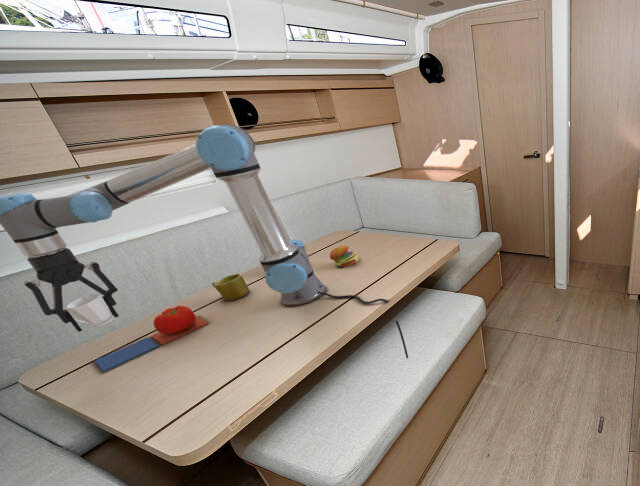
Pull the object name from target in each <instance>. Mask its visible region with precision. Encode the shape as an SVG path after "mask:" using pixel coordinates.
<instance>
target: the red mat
mask: <svg viewBox="0 0 640 486" xmlns="http://www.w3.org/2000/svg"><path fill="white" fill-rule="evenodd" d="M195 316H196V320H195V322H194V324H193V325H192V326H191V327H189V328H188V329H184V330H183V331H181V332H179V333H173V334H168V333H167V334H163V333H160V332H156V333H154V334H152V335H151V338H153V339H154V340H155V341H157V342H158V343H159V344H161V345H162V346H163V345H165V344H168V343H170V342H172V341H174V340H177V339H179V338H181V337H183V336H185V335H188V334H189V333H191V332H195V331H196V330H199V329H200V328H202V327H205V326H207V325H209V322H208V321H206V320H204V319H202V318H200V317H198V316H197V315H195Z"/></svg>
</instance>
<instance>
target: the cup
mask: <svg viewBox="0 0 640 486" xmlns="http://www.w3.org/2000/svg"><path fill="white" fill-rule="evenodd" d="M102 297H103V295H102V294H101V293H91V294H88V295H84V296H80V297H79V298H77V299H76V300H74V301H71V302H70V303H69V304H68V305H67V306H66V308H64V310H67V311H68V312H71V313H72V314H74V315H76V316H77V317H78V318H75V317H74V316H72V317H73V318H74V320H75V321H76V322H77V324H83V325H93V327H94V328H95V327H96V328H97V327H101V326H104V325H107V324H109V323H110V322H112V321H113V320H114V318H115V317H114V316H113V315H112V313H111V312H110V310H109V307H108V306H107V304H106V303H105V301H104V300H103V298H102ZM79 318H80V319H79Z"/></svg>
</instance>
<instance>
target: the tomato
mask: <svg viewBox="0 0 640 486" xmlns="http://www.w3.org/2000/svg"><path fill="white" fill-rule="evenodd" d="M196 316H197V315H196V314H195V312H194V311H193V310H192V309H191V308H190V307H188V306H186V305H185V306H184V305H177V306H174V307H170V308H167V309H165V310H163V311H162V312H161V314H158V315H157V316H155V317H154V319H153V326H154V328H155V330H156V331H157V333H159V332H160V333H163V334H167V333H168V334H173V333H179V332H181V331H183V330H184V329H188V328H189V327H191V326H192V325H193V324H194V322H195V320H196Z"/></svg>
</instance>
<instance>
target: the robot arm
mask: <svg viewBox="0 0 640 486" xmlns="http://www.w3.org/2000/svg"><path fill="white" fill-rule="evenodd" d="M255 152H256V144H255V141H254V139H253V137H252V136H251V135H250V134H249V132H248V131H247V130H245V129H243V128H242V127H239V126H237V125H233V124H219V125H212V126H208V127H206V128H204V129H203V130H202V131H201V132H200V133H199V134H198V136H197V138H196V140H195V144H192V145H190V146H188V147H186V148H184V149H181V150H178V151H176V152H173V153H170V154H168V155H166V156H164V157H162V158H159V159H156V160H154V161H152V162H149V163H147V164H145V165H142V166H139V167H137V168H135V169H132V170H129V171H127V172H124V173H123V174H120V175H118V176H115V177H113V178H110V179H108V180H106V181H102V182H100V183H98V184H95V185H92V186H90V187H89V188H85V189H82V190H79V191H77V192H73V193H71V194H68V195H63V196H57V197H50V198H43V199H37V197H35V196H34V195H33V194H32V193H29V192H21V193H12V194H5V195H0V225H1V227H2V228H3V229H4V231H5V232H6V233H7V234H8V236H9V237H10V239H11V240H12V241H13V242H14V244H15V245H16V247H17V248H18V250H19V251H20V252H21V254H22V255H23V256H25V257H27V259H26V260H27V261H28V263H29V264H30V266H31V267H32V268H33V270H34V272H36V277H35V278H33V279H30V280H25V281H23V285H24V287H27V288H28V289H29V290H31V293H32V294H33V296H34V298H35V300H36V302H37V304H38V306H39V307H40V310H41V311H42V314H44V315H45V316H51V315H57V316H58V318H59V319H60V320H61V322H62V323H64V324H69V323H70V324H72V326H73V327H74V329H75V330H76V331H77V332H78V333H80V332H83V329H82V328H81V326H80V325H79V323H78V322H76V321H75V320H74V318H75V317H74V316H72V314H71V313H70V311H69V310H68V311H67V310H65V309H64V303H63V286H65V285H68V284H70V283H75V282H78V281H79V282H80V283H82V284H84V285H85V286H88V287H90V289H92V290H94V291H95V292H97V293H98V294H100V295H101V296H102V298H103V300H104V301H105V303H106V304H107V306H108V307H109V310H110V312H111V316H113V317H114V318H118V317H120V315H119V313H118V312H117V311H116V309H115V308H114V307H115V306H117V302H116V300H115V299H114V297H113V296H112V295H113V294H114V293H117V292H118V288H117V287H116V286H115V284H113V282H112V281H111V280H110V279H109V278H108V277H107V276H106V275H105V273H104V272H103V271H102V270H101V267H100V264H99V263H98V262H96V261H91V262H88V263H82V262H80V261H79V260H78V259H77V257H76V255H75V254H74V253H73V251H72V250H71V248H68V247H67V246H68V243H66V241H65V240H64V238H63V237H62V235H61V234H60V232H59V231H58V230H57V228H63V227H69V226H75V225H82V224H88V223H97V222H100V221H105V220H108V219H110V218H111V217H112V214H113V211H115V210H117V209H119V208H122V207H124V206H126V205H129V204H130V203H133V202H135V201H138V200H140V199H142V198H144V197H146V196H149V195H152V194H154V193H156V192H159V191H161V190H163V189H166V188H169V187H170V186H173V185H175V184H177V183H180V182H182V181H184V180H187V179H189V178H191V177H194V176H196V175H199V174H201V173H203V172H205V171H208V170H210V169H211V171H212V173H213V175H214V177H215V179H217V180H220V181H221V182H224V183H225V185H226V187H227V189H228V191H229V193H230V195H231V196H232V198H233V200H234V202H235V204H236V207H237V208H238V210H239V213H240V214H241V216H242V218H243V220H244V222H245V224H246V226H247V228H248V230H249V231H250V233H251V236H252V238H253V240H254V241H255V243H256V245H257V247H258V249H259V251H260V255H259V257H258V261H259V263H260V265H261V267H262V269H263V272H264V273H265V276H264V277H265V278H264V279H265V282H266V284H267V286H268V287H269V288H270V289H271V290H273V291H274V292H278V293H280V300H281V302H282V304H283V305H284V306H288V307H289V306H290V307H294V306H302V305H306V304H308V303H310V302H313V301H316V300H317V299H319V298H321V297H322V296H327V297H329V298H333V299H346V298H355V299H357V300H358V301H359V302H360V303H362V304H366V305H368V304H373V303H377V302H384V303H389V301H388V300H387V299H385V298H377V299H374V300H370V301H365V300H363V299H362V298H361V297H359V296H357V295H355V294H347V295H332V294H329V293H326V288H325V285H324V283H322V281H321V280H320V279H319V278H318V276H317V275H316V274H315V272H314V270H313V266H312V264H311V262H310V259H309V256H308V253H307V251H306V246H305V245H304V243H303V240H300V239H290V240H289V239H288V236H287V235H286V232H285V230H284V228H283V226H282V224H281V221H280V219H279V217H278V215H277V213H276V211H275V209H274V206H273V205H272V202H271V200H270V198H269V196H268V193H267V191H266V189H265V187H264V185H263V183H262V181H261V179H260V177H259V173H260V171H261V170H262V168H261V165H260V163H259V161H258V159H257V157H256V154H255ZM85 269H87V270H88V271H92V273H94V275H95V276H96V277H97V278H98V279H99V281H101V282H102V284H103V285H104V286H106V288H107V289H105V288H102V287H101V286H99V285H98V284H96V283H94V282H93V281H91V280H89V279H88V278H86V277H84V276H83V274H84V271H85ZM40 282H45V283H48V284H50V285H51V288H52V299H53V301H52V302H53V308H50V306H49V304H48V301H47V300H46V299H45V296H44V293H42V291H41V289H40V287H41V283H40ZM73 317H74V318H73ZM395 324H396V326H397V329H398V331H399V335H400V338H401V342H402V345H403V346H402V347H403V349H404V354H405V359H407V358H409V354H408V351H407V346H406V343H405V338H404V334H403V332H402V329H401V326H400V323H399V321H398V320H396V321H395Z"/></svg>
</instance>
